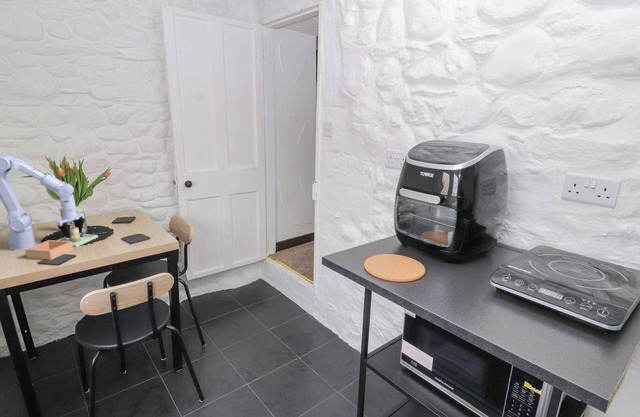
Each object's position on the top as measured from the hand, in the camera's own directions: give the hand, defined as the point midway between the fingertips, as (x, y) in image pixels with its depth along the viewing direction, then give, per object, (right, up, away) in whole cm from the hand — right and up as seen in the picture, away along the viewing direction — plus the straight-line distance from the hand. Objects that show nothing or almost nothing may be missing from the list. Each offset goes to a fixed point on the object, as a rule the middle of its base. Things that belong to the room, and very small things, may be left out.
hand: (73, 235), depth 175 cm
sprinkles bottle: (-15, +1, +17) cm, 23 cm away
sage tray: (0, -3, +1) cm, 4 cm away
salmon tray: (0, -8, -15) cm, 17 cm away
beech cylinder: (0, -3, +1) cm, 3 cm away
